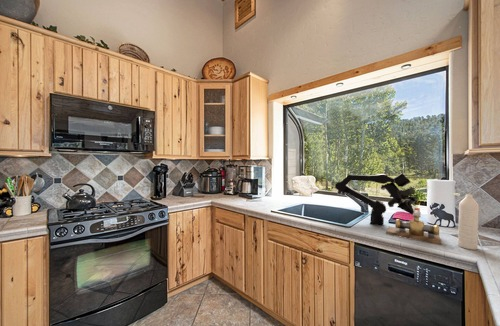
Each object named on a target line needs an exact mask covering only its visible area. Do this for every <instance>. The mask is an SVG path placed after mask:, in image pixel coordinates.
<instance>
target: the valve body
mask: <svg viewBox="0 0 500 326" xmlns="http://www.w3.org/2000/svg"><path fill="white" fill-rule="evenodd" d="M394 227H396V228H399V232H403V233H405V229H407V230H409V233H410V234H412V235H416V236H424V233H428V237H430V238H434V235H440V225H437V224H436V225H435V224H433V225H428V224H425V222H424V221H421V220H420V217H413V219H409V220H408V221H404V220H401V219H399V218H398V219H397V218H396V219H395V225H394Z"/></svg>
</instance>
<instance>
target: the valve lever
mask: <svg viewBox="0 0 500 326" xmlns="http://www.w3.org/2000/svg"><path fill="white" fill-rule="evenodd" d="M421 215H422V214H421V209H420V207H414V210H413V215H412V217H413V218H414V217H419V218H421Z"/></svg>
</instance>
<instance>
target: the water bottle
mask: <svg viewBox="0 0 500 326" xmlns="http://www.w3.org/2000/svg"><path fill="white" fill-rule="evenodd" d="M452 195H453V196H457V197H458V196H459V197H460V196H461V193H459V192H458V193H457V192H453V193H452ZM458 204H459V205H458V225H457V226H458V228H457V230H458V232H457V234H458V235H457V238H458V240H457V245H458V246H459V247H461V248H464V249H466V250H472V251H473V250H478V243H479V242H478V238H479V235H478V234H479V232H478V231H479V214H480V213H479V210H480V206H479V203H478V202H477V201H476V200H475V199H474V196H473V194H469V193H466V194H465V196H464V198H463V199H462V200H461V201H459V203H458Z"/></svg>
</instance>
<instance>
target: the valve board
mask: <svg viewBox="0 0 500 326" xmlns="http://www.w3.org/2000/svg"><path fill="white" fill-rule="evenodd" d="M385 234H386V235H389V236H394V235H395V236H394V237H399V236H401V238H404V237H406V239H409V238H411V239H410V240H415V239H416V240H415V241H420V240H421V242H425V241H426V243H430V242H431V243H430V244H434V245H442V244H441V242H442V241H441V236H440V234H439V235H434V238H430V237H428V232H424V236H416V235H412V234H410V233H409V229H406V228H405V233H403V232H399V228H396V226H391V225H389V226H388V227H387V228H386V231H385Z"/></svg>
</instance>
